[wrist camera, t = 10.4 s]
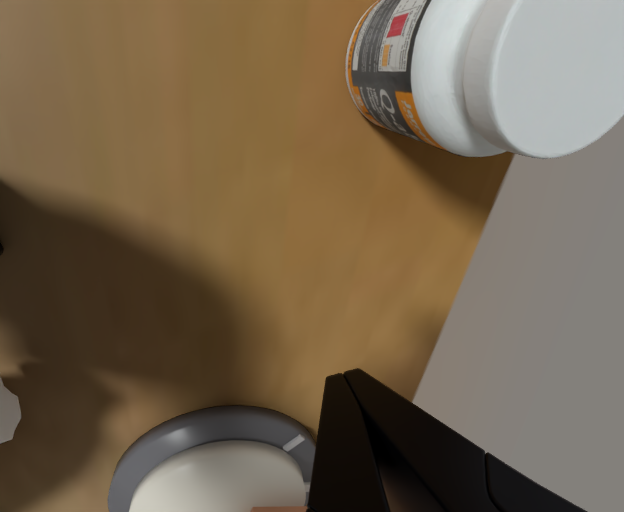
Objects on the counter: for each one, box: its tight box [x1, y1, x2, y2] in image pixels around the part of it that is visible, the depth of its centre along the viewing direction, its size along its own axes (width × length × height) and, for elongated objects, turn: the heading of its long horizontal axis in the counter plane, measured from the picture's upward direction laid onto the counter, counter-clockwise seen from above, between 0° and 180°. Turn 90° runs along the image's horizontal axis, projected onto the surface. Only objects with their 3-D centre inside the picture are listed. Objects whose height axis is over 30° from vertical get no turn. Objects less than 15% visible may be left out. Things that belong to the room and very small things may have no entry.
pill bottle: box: [346, 0, 624, 159], centre depth 13 cm, size 6×6×10 cm
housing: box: [108, 406, 316, 512], centre depth 27 cm, size 15×15×1 cm
